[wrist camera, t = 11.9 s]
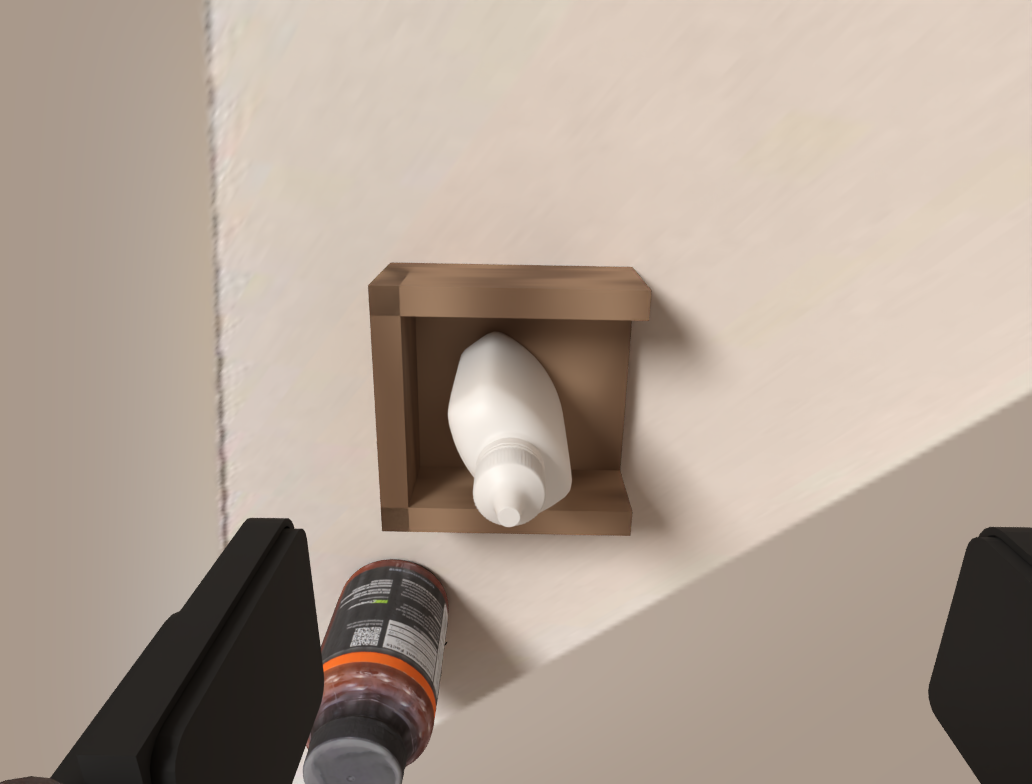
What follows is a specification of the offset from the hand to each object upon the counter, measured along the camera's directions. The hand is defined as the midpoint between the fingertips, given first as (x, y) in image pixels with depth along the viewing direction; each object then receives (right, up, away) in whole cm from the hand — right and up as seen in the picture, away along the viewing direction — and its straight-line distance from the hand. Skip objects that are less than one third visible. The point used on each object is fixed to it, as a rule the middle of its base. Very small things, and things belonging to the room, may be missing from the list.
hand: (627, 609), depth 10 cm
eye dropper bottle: (-2, +3, +23) cm, 23 cm away
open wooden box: (-2, +4, +24) cm, 24 cm away
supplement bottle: (-8, -8, +29) cm, 31 cm away
